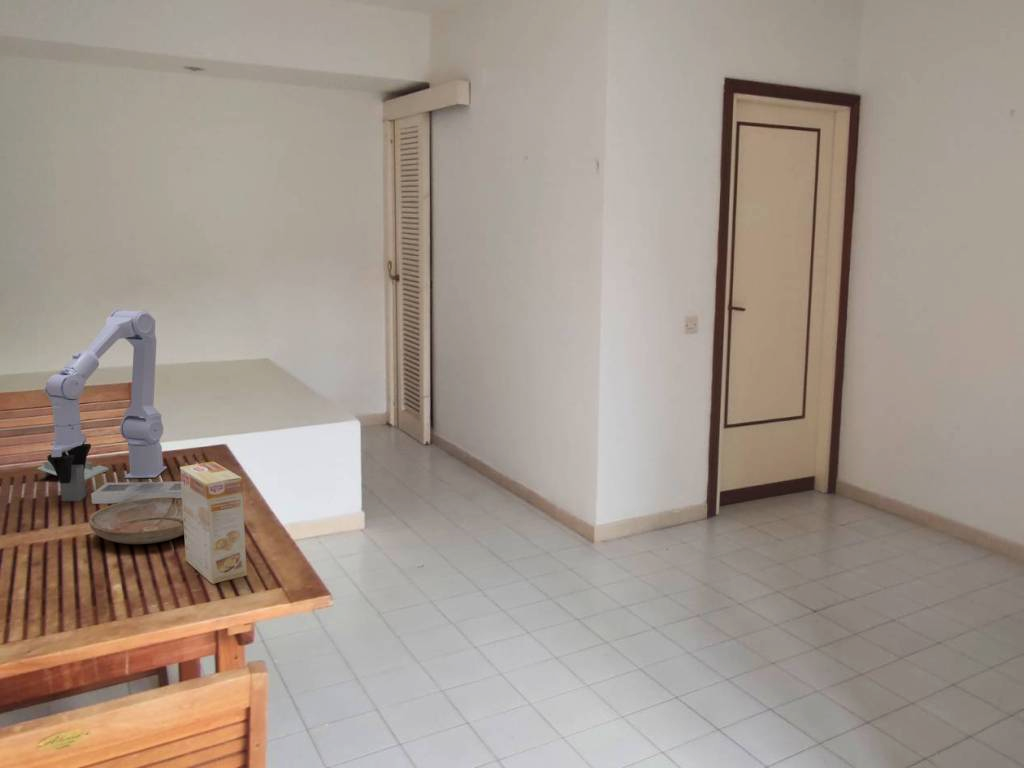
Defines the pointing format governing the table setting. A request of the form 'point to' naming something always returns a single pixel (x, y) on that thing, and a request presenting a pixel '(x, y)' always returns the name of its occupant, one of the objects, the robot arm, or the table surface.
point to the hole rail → (135, 491)
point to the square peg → (74, 485)
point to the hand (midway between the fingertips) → (72, 478)
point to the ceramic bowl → (140, 521)
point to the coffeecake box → (213, 521)
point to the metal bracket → (88, 471)
